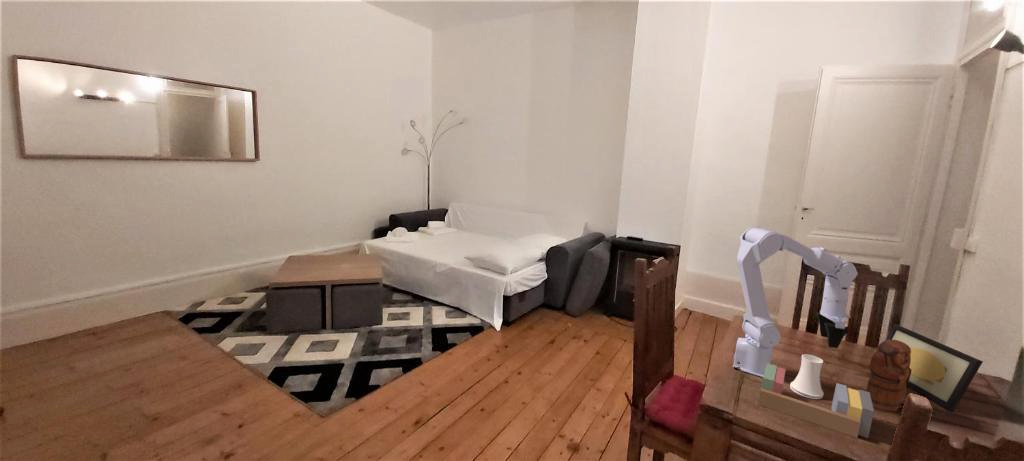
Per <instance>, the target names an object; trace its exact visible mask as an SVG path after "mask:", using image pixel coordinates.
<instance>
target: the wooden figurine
mask: <svg viewBox="0 0 1024 461" xmlns="http://www.w3.org/2000/svg"><path fill="white" fill-rule="evenodd" d="M910 353H911V349H910V347H909V346H908V345H907V344H905V343H903V342H901V341H898V340H886V339H885V340H884V341H882V342H881V343H880V344H879V345H878V346H877V351H875V352H874V353H873V355H872V356H871V358H870V364H869V370H870V376H869V379H868V380H867V381H868V382H867V386H866V390H865V391H866V392H870V397H871V401H872V405H873V409H877V410H881V411H884V412H885V411H886V412H897V411H898V410H899V409H901V408H902V407H903V406H902V405H903V404H905V399H906V397H907V385H906V383H907V382H909V379H910V375H911V369H910V368H909V366H910V362H911V355H910Z"/></svg>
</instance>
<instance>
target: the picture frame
mask: <svg viewBox="0 0 1024 461" xmlns="http://www.w3.org/2000/svg"><path fill="white" fill-rule="evenodd" d="M885 340H898V341H901V342H903V343H905V344H907V345H908V346H909V347H910V349H911V353H910V355H911V362H910V366H909V368H910V369H911V375H910V379H909V382H907V383H906V387H908V388H910V389H912V390H914V391H915V392H918V394H920V395H921V394H922V395H923V396H924V397H926V398H928V399H930V400H931V401H933V402H934V403H937V405H940V406H942V407H943V408H945V409H947V410H949V411H951V412H954V411H955V409H956V408H957V407H958V405H959V403H960V401H961V400H962V398H963V396H964V395H965V393H966V392H967V389H968V387H969V386H970V384H971V383H972V381H973V379H974V377H976V374H977V373H978V371H979V369H980V368H981V366H982V364H983V362H984V361H983V360H980V359H978V358H976V357H973V356H971V355H968V354H967V353H964V352H962V351H959V350H957V349H955V348H954V347H953V348H952V347H950V346H949V345H946V344H943V343H941V342H938V341H937V340H934V339H932V338H929V337H927V336H924V335H922V334H919V333H918V332H915V331H913V330H911V329H908V328H906V327H904V326H901V325H900V324H896V323H894V324H893V325H892V327H891V330H890V331H889V333H888V335H887V336H886V338H885Z"/></svg>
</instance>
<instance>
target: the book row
mask: <svg viewBox="0 0 1024 461" xmlns="http://www.w3.org/2000/svg"><path fill="white" fill-rule="evenodd" d="M785 375H786V368H784V367H780V366H777V365H775V364H772V363H770V364H768V363H767V364H766V367H765V371H764V375H763V377H762V380H761V386H760V391H759V396H758V405H760V406H762V407H765V408H767V409H771V410H774V411H776V412H780V413H783V414H785V415H788V416H791V417H793V418H797V419H801V420H803V421H806V422H809V423H812V424H814V425H815V424H816V425H818V426H819V427H820V426H821V427H823V428H827V429H830V430H833V431H836V432H839V433H841V434H844V435H848V436H851V437H853V438H855V439H858V436H859V437H863V438H866V439H869V436H870V431H871V428H872V422H873V418H874V413H875V411H874V409H875V408H874V407H873V405H872V401H871V397H870V392H866V390H863V389H853V388H850V387H847V385H845V384H841V383H838V382H836V384H835V389H834V393H833V398H832V403H831V409H828V408H825V407H822V406H819V405H816V404H813V403H809V402H807V401H805V400H801V399H797V398H794V397H791V396H788V395H784V394H782V393H783V387H784V383H785Z"/></svg>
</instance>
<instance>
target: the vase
mask: <svg viewBox="0 0 1024 461" xmlns="http://www.w3.org/2000/svg"><path fill="white" fill-rule="evenodd" d="M823 363H824V360H823V359H822V358H820V357H818V356H816V355H814V354H807V353H805V354H801V363H800V368H799V371H798V374H797V375H796V377H795V378H794V380H793V381H791V382H790V385H789V387H790V389H791V390H792V391H793V392H794V393H795V394H797V395H800V396H801V397H805V398H808V399H811V400H820V399H823V397H824V391H823V389H822V385H821V369H822V366H823Z"/></svg>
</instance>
